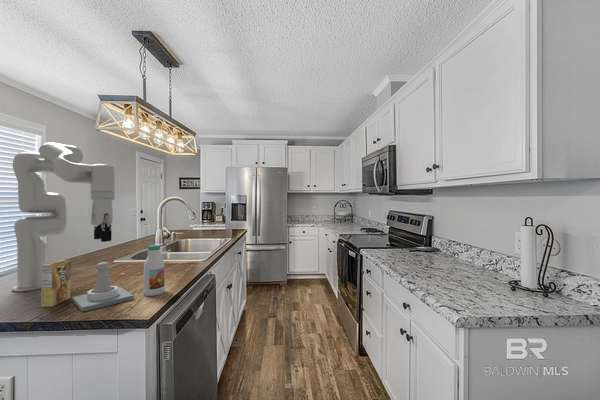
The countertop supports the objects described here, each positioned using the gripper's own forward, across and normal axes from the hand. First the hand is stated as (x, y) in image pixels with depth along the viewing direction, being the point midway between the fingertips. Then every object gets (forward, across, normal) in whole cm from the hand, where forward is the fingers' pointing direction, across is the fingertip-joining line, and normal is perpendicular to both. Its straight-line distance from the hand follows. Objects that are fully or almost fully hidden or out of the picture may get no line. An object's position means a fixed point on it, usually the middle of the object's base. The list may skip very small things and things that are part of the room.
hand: (102, 240), depth 105 cm
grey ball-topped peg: (+22, 0, 0) cm, 22 cm away
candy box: (+24, -10, -12) cm, 28 cm away
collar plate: (+23, 0, 0) cm, 23 cm away
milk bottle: (+24, +7, +16) cm, 29 cm away
